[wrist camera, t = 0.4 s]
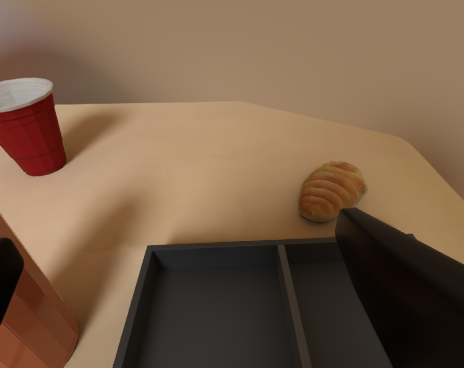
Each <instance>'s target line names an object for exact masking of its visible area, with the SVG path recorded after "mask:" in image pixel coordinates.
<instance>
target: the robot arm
mask: <svg viewBox="0 0 464 368" xmlns="http://www.w3.org/2000/svg"><path fill="white" fill-rule="evenodd" d="M335 237H336V241H337V243H338V246H339V249H340V252H341V255H342V257H343V260H344V263H345V266H346V268H347V271H348V274H349V277H350V279H351V282H352V285H353V287H354V289H355V291H356V294H357V296H358V298H359V300H360V302H361V304H362V306H363V308H364V310H365V312H366V314H367V316H368V318H369V320H370V322H371V324H372V326H373V328H374V330H375V332H376V334H377V337H378V339H379V341H380V343H381V345H382V347H383V349H384V351H385V353H386V355H387V357H388V359H389V361H390V363H391V365H392V367H393V368H464V264H462V263H460V262H458V261H456V260H454V259H452V258H450V257H448V256H447V255H445V254H443V253H441V252H439V251H437V250H435V249H433V248H431V247H430V246H428V245H426V244H424V243H422V242H420V241H418V240H416V239H414V238H412V237H411V236H409V235H407V234H405V233H403V232H401V231H399V230H397V229H395V228H393V227H392V226H390V225H388V224H386V223H384V222H382V221H380V220H378V219H376V218H374V217H373V216H371V215H369V214H367V213H365V212H363V211H361V210H359V209H357V208H343V209H341V210H340V211H339V213H338V218H337V224H336V229H335ZM23 268H24V259H23V257H22V255H21V253H20V252H19V250H18V249H17V247H16V245H15V244H14V242H13V241H12V240H11V239H10V238H7V237H3V238H0V325H1V323H2V321H3V319H4V316H5V314H6V312H7V309H8V307H9V304H10V301H11V299H12V296H13V294H14V291H15V289H16V286H17V284H18V281H19V279H20V276H21V274H22V271H23Z"/></svg>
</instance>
